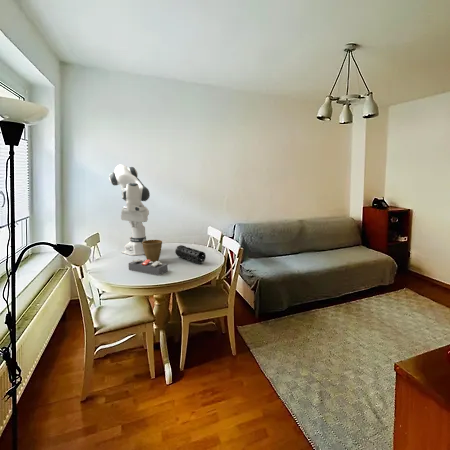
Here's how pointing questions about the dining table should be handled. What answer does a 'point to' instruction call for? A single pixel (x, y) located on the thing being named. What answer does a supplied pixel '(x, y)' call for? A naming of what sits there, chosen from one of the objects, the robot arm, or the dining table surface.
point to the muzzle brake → (190, 254)
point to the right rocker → (155, 264)
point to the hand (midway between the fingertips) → (134, 227)
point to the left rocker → (137, 261)
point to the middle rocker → (146, 262)
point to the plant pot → (152, 249)
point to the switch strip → (148, 267)
